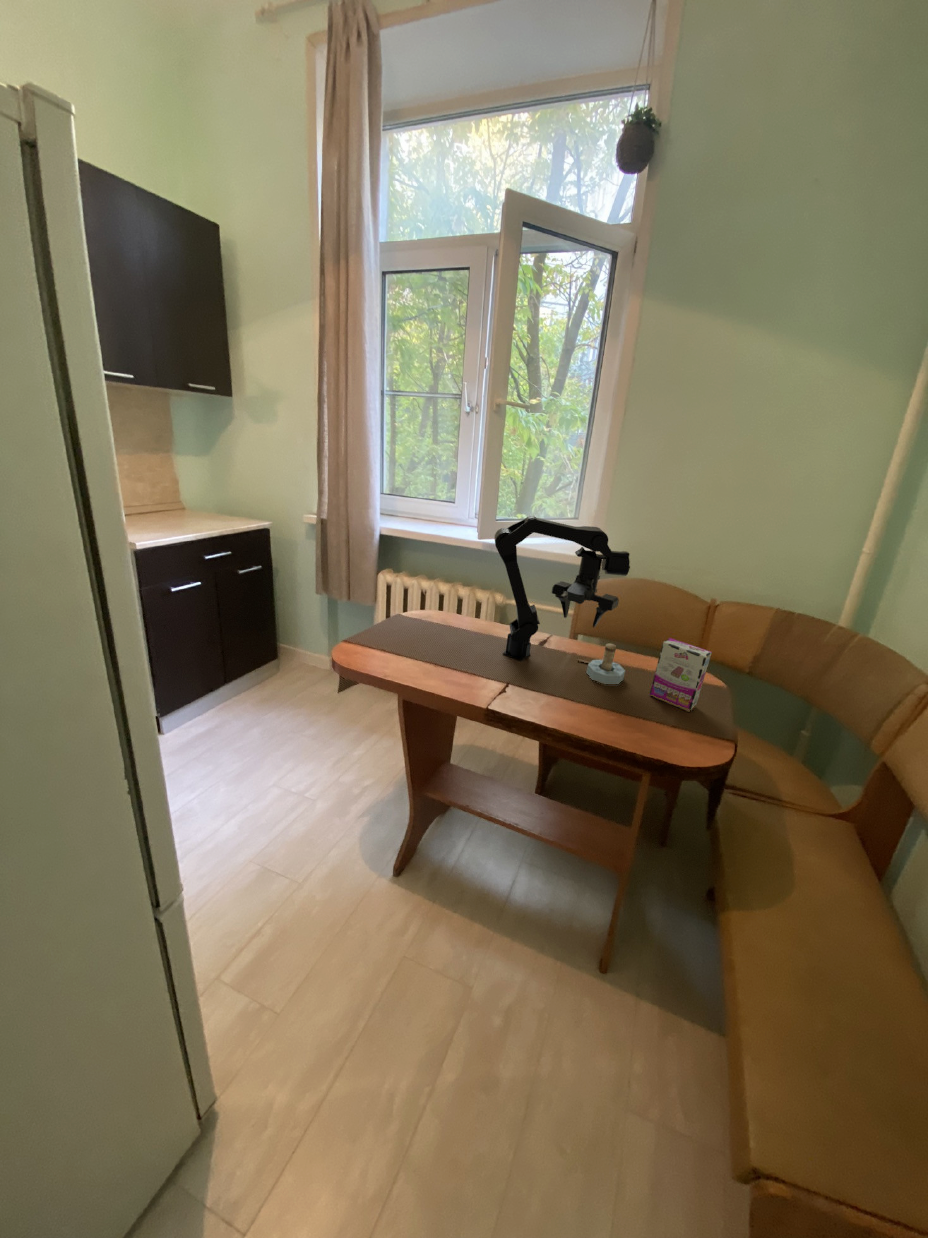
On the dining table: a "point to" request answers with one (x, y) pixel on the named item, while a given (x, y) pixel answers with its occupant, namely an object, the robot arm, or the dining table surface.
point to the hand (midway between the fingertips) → (579, 622)
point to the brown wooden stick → (583, 661)
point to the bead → (605, 672)
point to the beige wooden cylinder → (608, 657)
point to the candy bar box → (680, 673)
